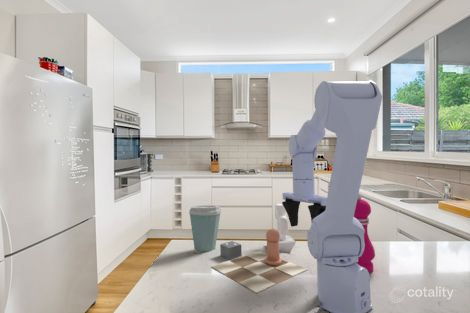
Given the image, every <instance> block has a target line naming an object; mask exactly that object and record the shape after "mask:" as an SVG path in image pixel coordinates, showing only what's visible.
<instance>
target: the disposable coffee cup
mask: <svg viewBox="0 0 470 313" xmlns="http://www.w3.org/2000/svg"><path fill="white" fill-rule="evenodd" d="M188 214H189V219H190V226H191V232H192V241H193V247H194V250H195V253H196V252H197V253H196V254H198V253H200V254H202V253H207V252H211V251H214V250H216V246H217V240H218V239H217V238H218V231H219V225H220V218H221V214H222V210H221V207H220V206H219V205H215V204H214V205H212V204H204V205H203V204H202V205H195V206H194V205H193V206H191V207H190V209H189V213H188Z"/></svg>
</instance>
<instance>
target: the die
mask: <svg viewBox="0 0 470 313" xmlns="http://www.w3.org/2000/svg"><path fill="white" fill-rule="evenodd" d="M219 244H220V245H219V246H220V247H219V248H220V250H219V251H220V252H219V253H220V256H221V257H223V258H225V259H226V260H227V261H231V260H234V259H237V258H241V257H243V256H242V244H241V243H238V242H236V241H233V240H231V241H228V242H224V243H219Z"/></svg>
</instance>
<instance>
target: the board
mask: <svg viewBox="0 0 470 313" xmlns="http://www.w3.org/2000/svg"><path fill="white" fill-rule="evenodd" d="M266 257H267V252H265V251H262V250H258V251H255V252H252V253H249V254H245V255H244V256H240V257H237V258H234V259H231V260H227V261H226V260H225V261H223V262H221V263H218V264H214V265H212V266H210V267H211V268H212V269H214V270H215V271H217V272H218V273H220V274H223V275H224V276H226V277H227V278H228V279H230V280H233V281H234V282H236V283H238V284H239V285H241V286H243V287H244V288H246V289H248V290H250V291H251V292H252V293H255V294H259V293H261V292H263V291H265V290H267V289H269V288H272V287H274V286H276V285H278V284H280V283H283V282H285V281H287V280H290V279H291V278H294V277H296V276H298V275H300V274H303V273H304V272H307V271H308V270H309V269H308V268H307V267H303V266H301V265H299V264H295V263H293V262H291V261H286V260H283V259H282V264H281V265H278V266H270V265H267V264H266V261H265V259H266Z"/></svg>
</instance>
